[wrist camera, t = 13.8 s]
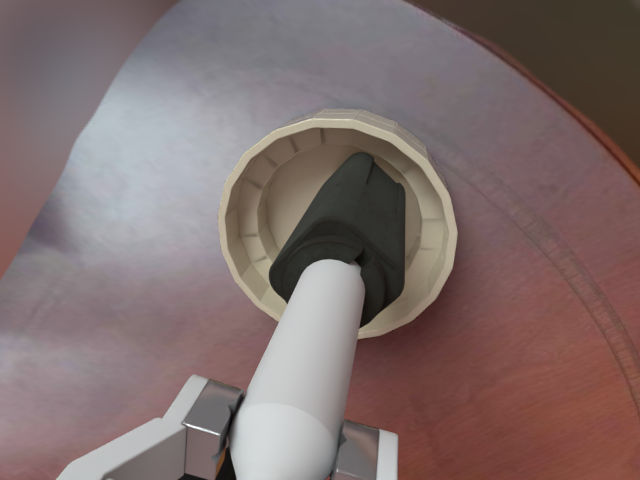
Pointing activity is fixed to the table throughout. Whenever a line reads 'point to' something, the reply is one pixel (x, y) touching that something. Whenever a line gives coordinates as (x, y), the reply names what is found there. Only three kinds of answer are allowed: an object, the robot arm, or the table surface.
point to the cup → (226, 473)
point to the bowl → (304, 183)
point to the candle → (321, 323)
